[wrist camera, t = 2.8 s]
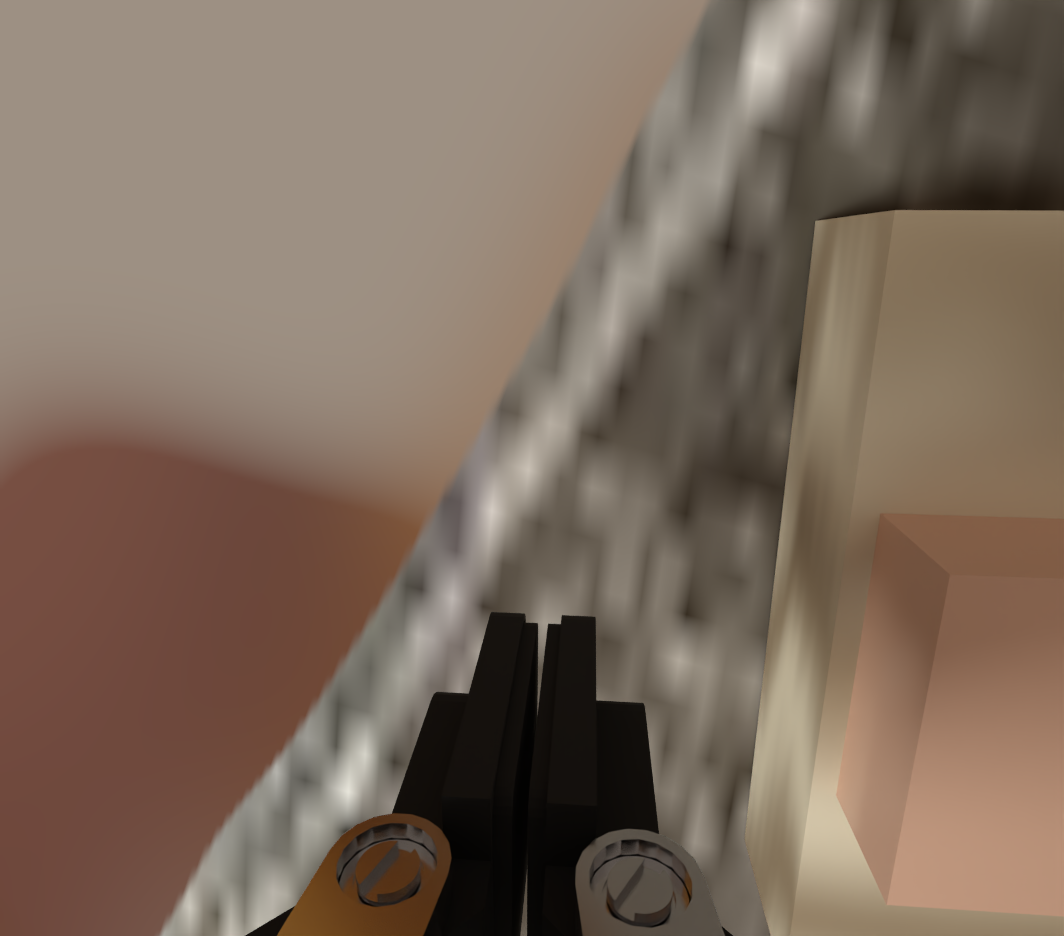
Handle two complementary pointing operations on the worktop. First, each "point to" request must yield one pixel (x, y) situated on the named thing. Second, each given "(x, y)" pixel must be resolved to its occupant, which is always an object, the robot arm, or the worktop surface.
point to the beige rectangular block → (893, 507)
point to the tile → (961, 715)
